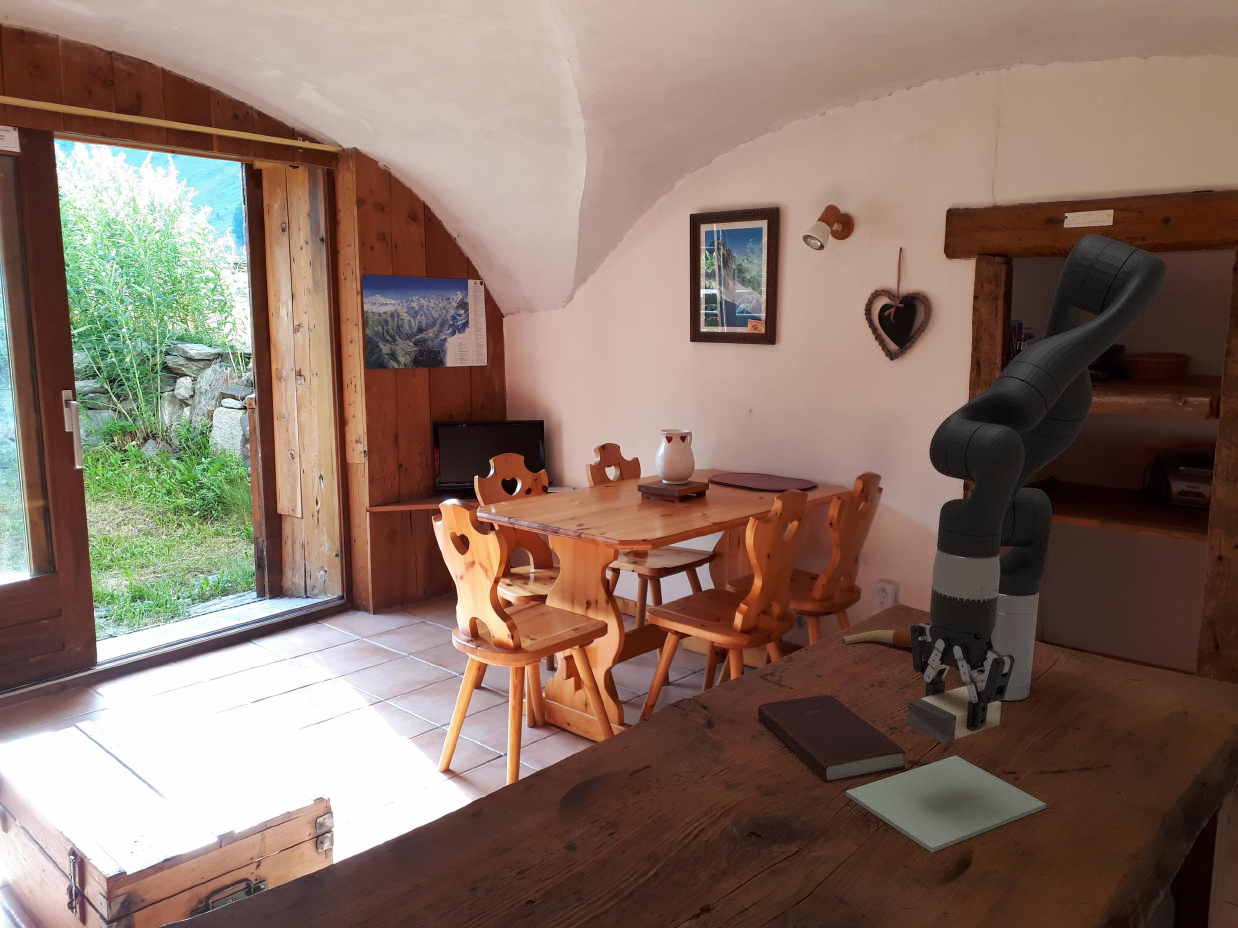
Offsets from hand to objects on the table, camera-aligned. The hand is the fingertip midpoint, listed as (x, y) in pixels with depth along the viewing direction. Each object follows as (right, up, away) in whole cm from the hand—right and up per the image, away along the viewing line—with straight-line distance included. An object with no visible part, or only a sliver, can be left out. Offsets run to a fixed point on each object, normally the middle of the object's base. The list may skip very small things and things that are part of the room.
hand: (953, 718), depth 115 cm
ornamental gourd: (+9, -2, +53) cm, 54 cm away
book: (-12, -9, +17) cm, 23 cm away
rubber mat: (0, -11, +2) cm, 11 cm away
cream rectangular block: (0, -1, 0) cm, 1 cm away
